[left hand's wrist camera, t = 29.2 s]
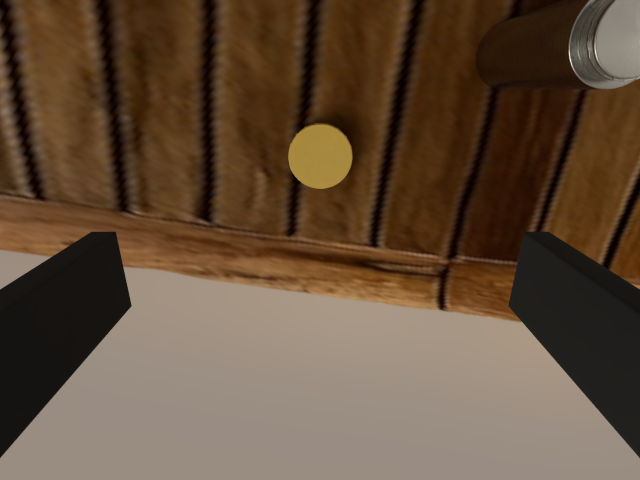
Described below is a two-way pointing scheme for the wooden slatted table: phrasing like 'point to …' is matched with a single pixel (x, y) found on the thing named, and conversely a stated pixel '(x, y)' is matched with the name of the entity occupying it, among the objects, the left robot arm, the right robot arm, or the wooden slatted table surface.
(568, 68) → the jar
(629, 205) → the wooden slatted table surface
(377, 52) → the wooden slatted table surface
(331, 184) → the lid
